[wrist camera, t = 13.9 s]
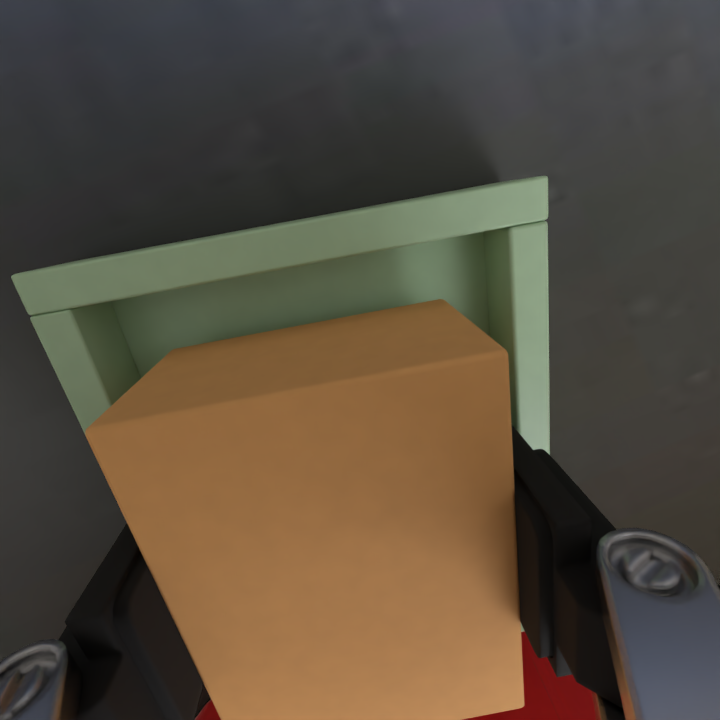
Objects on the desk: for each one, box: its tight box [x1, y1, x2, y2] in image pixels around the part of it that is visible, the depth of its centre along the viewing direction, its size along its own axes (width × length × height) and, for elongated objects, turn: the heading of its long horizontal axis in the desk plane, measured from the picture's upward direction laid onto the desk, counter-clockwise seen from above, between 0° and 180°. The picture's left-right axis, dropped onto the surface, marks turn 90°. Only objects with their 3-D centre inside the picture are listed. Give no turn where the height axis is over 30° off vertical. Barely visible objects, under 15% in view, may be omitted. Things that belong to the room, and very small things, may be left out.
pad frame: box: [11, 176, 550, 632], centre depth 11 cm, size 12×10×2 cm
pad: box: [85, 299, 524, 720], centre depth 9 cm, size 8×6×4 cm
